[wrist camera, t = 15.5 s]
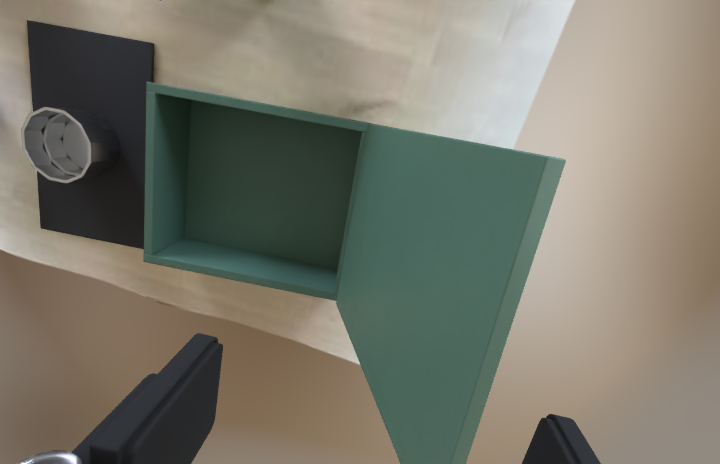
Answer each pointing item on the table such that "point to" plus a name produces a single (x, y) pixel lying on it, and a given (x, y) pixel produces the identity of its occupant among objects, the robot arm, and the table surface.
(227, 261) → the open green box
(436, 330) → the lid
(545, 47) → the table surface
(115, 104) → the mat
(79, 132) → the bowl
